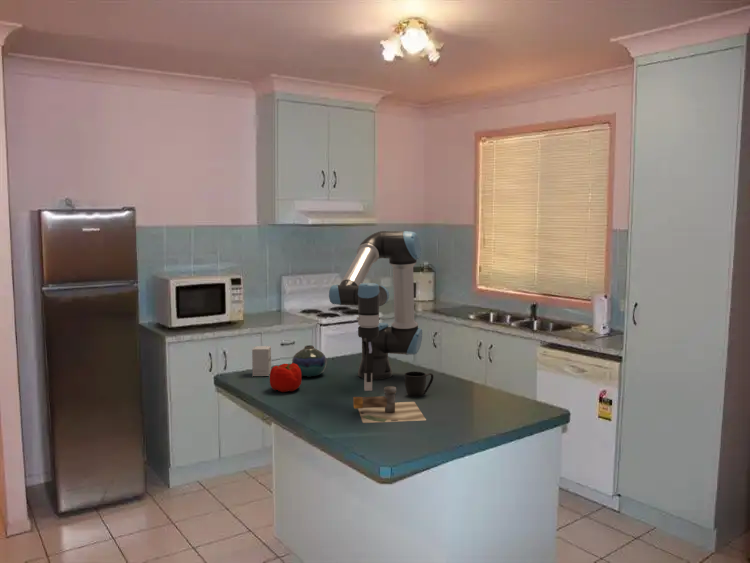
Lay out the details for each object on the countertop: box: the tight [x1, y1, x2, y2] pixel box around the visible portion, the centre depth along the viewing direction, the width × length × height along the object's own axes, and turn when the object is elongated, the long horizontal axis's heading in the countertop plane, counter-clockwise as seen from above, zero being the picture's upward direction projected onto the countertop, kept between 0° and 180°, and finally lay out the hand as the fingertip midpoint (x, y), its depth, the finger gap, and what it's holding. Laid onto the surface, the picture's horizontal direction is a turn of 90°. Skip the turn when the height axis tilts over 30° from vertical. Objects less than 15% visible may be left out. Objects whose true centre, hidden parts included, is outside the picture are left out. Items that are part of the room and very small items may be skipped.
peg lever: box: [352, 385, 397, 413], centre depth 228 cm, size 15×4×8 cm, turn 97°
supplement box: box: [251, 345, 272, 377], centre depth 286 cm, size 7×7×13 cm
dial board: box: [357, 401, 427, 424], centre depth 230 cm, size 22×22×1 cm
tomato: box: [269, 362, 302, 393], centre depth 262 cm, size 14×13×10 cm
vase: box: [291, 344, 328, 378], centre depth 286 cm, size 15×15×13 cm
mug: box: [404, 371, 434, 398], centre depth 252 cm, size 8×12×10 cm
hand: (368, 390), depth 233 cm, fingers closed
